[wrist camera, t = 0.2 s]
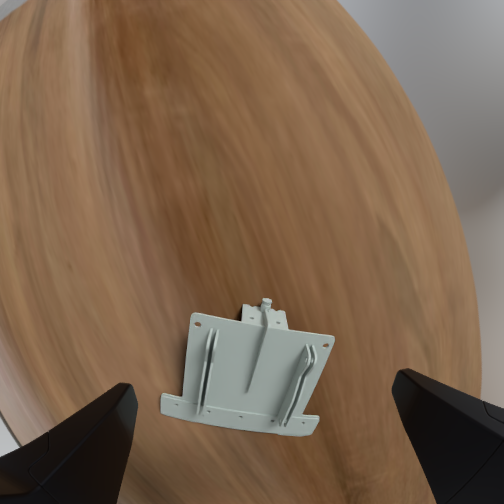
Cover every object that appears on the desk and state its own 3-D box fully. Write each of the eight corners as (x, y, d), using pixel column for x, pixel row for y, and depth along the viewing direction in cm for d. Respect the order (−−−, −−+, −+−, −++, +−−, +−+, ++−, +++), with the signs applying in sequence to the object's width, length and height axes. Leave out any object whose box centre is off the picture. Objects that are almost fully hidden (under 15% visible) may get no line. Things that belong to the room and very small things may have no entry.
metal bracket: (158, 307, 18) (369, 343, 18) (179, 276, 23) (347, 308, 24) (156, 432, 21) (308, 453, 22) (169, 394, 27) (301, 414, 28)
